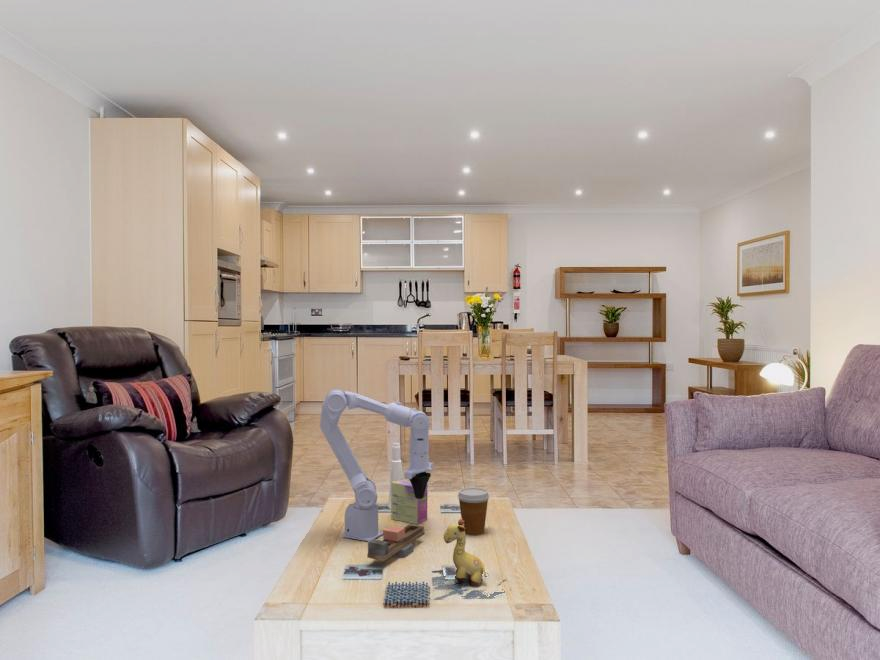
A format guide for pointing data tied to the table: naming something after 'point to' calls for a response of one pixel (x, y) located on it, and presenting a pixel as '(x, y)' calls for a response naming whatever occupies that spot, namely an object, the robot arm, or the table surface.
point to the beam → (395, 544)
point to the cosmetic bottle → (395, 467)
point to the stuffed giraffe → (462, 567)
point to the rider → (393, 534)
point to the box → (407, 503)
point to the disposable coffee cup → (473, 509)
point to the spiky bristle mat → (407, 595)
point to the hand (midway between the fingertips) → (419, 498)
